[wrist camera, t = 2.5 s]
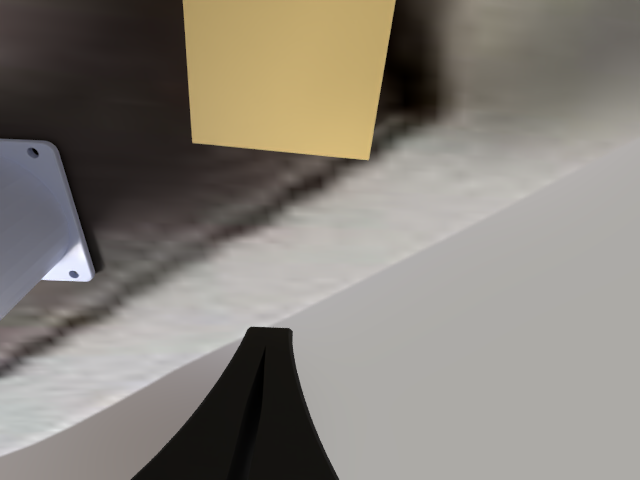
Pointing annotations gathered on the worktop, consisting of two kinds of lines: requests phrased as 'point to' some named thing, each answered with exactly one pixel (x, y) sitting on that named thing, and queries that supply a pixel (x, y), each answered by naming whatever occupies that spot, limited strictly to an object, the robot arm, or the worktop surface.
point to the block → (287, 73)
